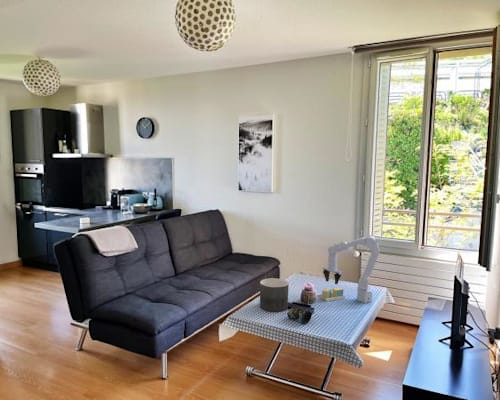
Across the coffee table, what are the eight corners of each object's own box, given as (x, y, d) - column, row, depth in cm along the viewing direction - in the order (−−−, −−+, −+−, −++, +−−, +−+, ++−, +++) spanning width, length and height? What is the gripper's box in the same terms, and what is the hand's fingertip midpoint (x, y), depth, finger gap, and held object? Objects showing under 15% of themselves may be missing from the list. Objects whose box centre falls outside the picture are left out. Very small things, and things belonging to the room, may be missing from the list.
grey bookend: (344, 300, 256) (344, 295, 256) (326, 303, 250) (326, 298, 250) (333, 294, 267) (333, 290, 267) (315, 297, 261) (315, 292, 261)
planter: (286, 313, 232) (286, 288, 231) (257, 310, 236) (257, 285, 234) (289, 303, 250) (289, 279, 248) (262, 300, 253) (262, 277, 252)
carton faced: (335, 299, 255) (336, 290, 254) (332, 297, 258) (332, 288, 258) (343, 297, 257) (343, 289, 257) (339, 296, 261) (339, 287, 260)
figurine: (305, 317, 213) (284, 306, 223) (306, 329, 216) (284, 318, 226) (314, 308, 219) (292, 299, 228) (314, 320, 222) (293, 310, 232)
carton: (327, 300, 252) (328, 291, 251) (322, 299, 254) (322, 290, 254) (331, 297, 257) (331, 289, 256) (325, 296, 259) (325, 288, 259)
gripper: (345, 264, 256) (344, 284, 257) (327, 259, 267) (327, 278, 268) (338, 266, 251) (337, 286, 253) (321, 261, 262) (320, 280, 264)
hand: (331, 282), depth 260 cm, fingers open, 7 cm apart
